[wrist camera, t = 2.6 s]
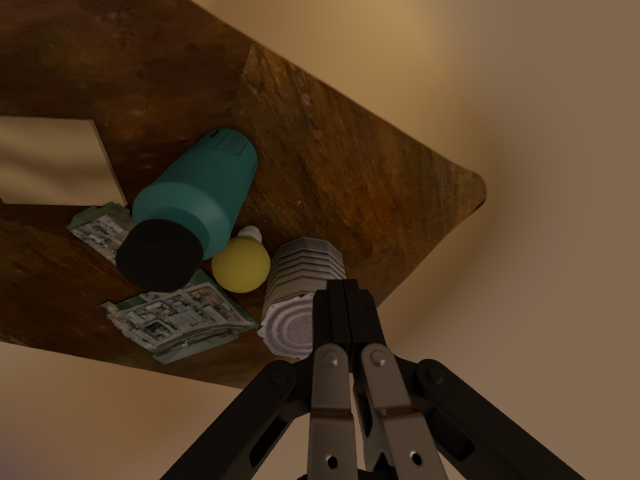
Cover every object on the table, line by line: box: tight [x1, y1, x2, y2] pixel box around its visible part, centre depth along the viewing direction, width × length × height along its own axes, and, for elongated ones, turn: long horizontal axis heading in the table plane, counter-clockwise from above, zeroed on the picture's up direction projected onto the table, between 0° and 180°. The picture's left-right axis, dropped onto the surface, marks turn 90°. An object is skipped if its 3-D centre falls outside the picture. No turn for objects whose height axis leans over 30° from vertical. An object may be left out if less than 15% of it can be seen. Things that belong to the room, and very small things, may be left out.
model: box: [65, 201, 259, 364], centre depth 42 cm, size 21×30×2 cm
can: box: [257, 236, 346, 360], centre depth 36 cm, size 11×11×12 cm
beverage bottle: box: [115, 127, 259, 293], centre depth 22 cm, size 6×7×20 cm
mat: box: [0, 115, 128, 206], centre depth 30 cm, size 10×14×1 cm
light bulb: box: [211, 226, 270, 293], centre depth 33 cm, size 7×7×10 cm
